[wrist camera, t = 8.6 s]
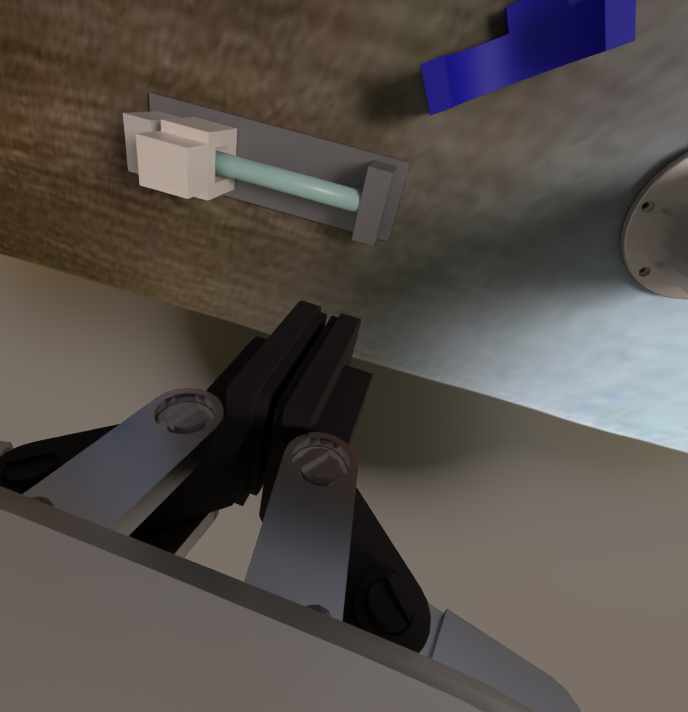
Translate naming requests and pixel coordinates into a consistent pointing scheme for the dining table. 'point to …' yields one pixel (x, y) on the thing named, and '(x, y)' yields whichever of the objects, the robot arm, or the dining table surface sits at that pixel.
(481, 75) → the blue curved block
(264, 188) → the threaded rod slide
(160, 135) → the sleeve
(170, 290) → the dining table surface
